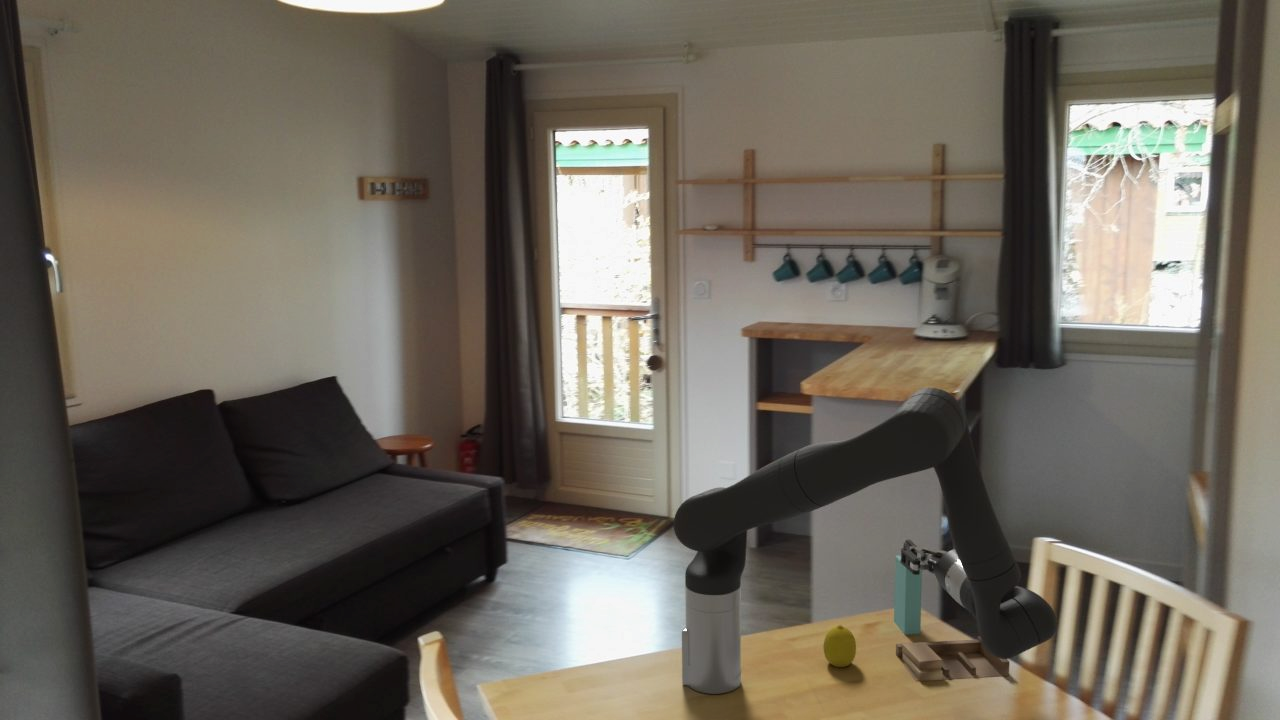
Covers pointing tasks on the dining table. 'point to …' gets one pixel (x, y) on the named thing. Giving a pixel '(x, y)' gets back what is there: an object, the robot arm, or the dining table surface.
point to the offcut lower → (923, 671)
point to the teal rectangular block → (907, 599)
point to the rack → (964, 660)
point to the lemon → (839, 646)
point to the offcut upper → (922, 655)
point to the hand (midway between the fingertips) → (930, 544)
